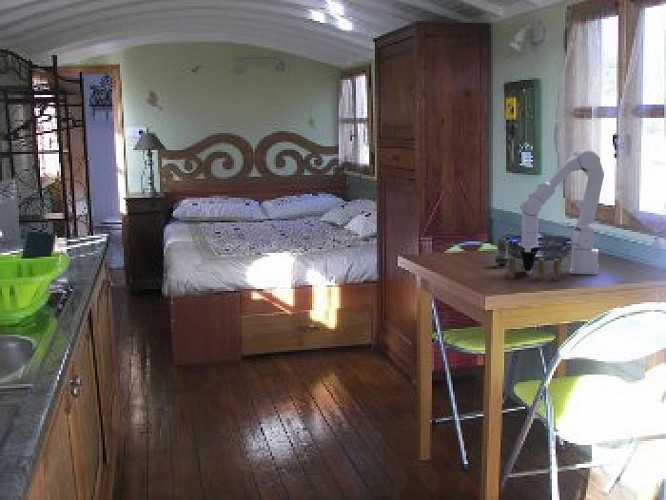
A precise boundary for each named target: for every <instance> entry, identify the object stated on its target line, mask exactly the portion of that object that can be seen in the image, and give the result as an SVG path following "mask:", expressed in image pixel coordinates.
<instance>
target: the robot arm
mask: <svg viewBox="0 0 666 500" xmlns="http://www.w3.org/2000/svg"><path fill="white" fill-rule="evenodd" d="M581 170H582V171H583V173H584V174H585V176H586V177H587V181H586V186H585V190H584V195H583V199H582V204H581V208H580V213H579V218H578V221H577V222H576V223H575V225H574V229H573V230H572V232H570V236H569V237H570V241H571V243H572V246H571V261H570V262H571V266H570V269H569V274H572V275H573V274H575V275H576V274H577V275H594V276H596V275H598V271H599V269H600V267H599V266H600V264H599V249H598V248H594V245H595V244H596V237H595V231H596V229H595V228H596V227H595V225H594V223H595V218H596V214H597V209H598V204H599V200H600V195H601V191H602V186H603V182H604V177H605V171H604V169H603V166H602V163H601V157H599V155H598V154H597V153H596V152H595V151H593V150H590V149H589V150H586V149H578V150H576V151H574V153H573V154H572V155H571V156H569V157H568V159H567V160H566V161H565V162H564V163H563V164H562V165H561V166H560V168H559V169H558V170H557V171H556V172H555V173H553V176H552V177H550V179H549V180H548V181H542V183H538V184H537V187H536V188H535V190H534V191H533V192H532V193H531V194H530V193H529V194H528V196H527V198H525V199H523V201H522V202H521V203H520V206H519V208H520V210H521V211H522V212H521V213H522V215H521V216H522V218H521V242H518V243H517V245H518V246H520V247H522V250H520V251H519V253H520V256H521V259H522V261H523V268H524V271H525V272H526V271H531V269H532V270H533V267H534V264H535V261H536V260H535V259H536V255H537V253H538V250H539V213H540V212H541V210H542V206H544V205H545V204H546V203H547V202H548V201H549V200H550V199H551V197H552V196H554V195H555V193H556V187H557V186H558V185H560V184H561V183H562V181H564V179H566V178H567V177H568V176H569V175H570V174H571V173H573V172H576V171H581Z"/></svg>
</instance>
